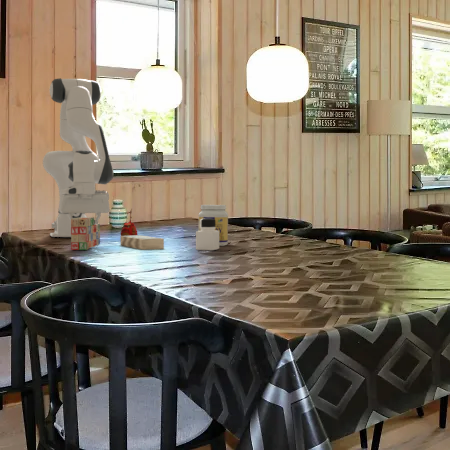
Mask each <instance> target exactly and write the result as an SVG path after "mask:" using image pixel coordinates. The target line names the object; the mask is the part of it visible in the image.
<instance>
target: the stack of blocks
mask: <svg viewBox="0 0 450 450" xmlns="http://www.w3.org/2000/svg"><path fill="white" fill-rule="evenodd" d="M94 220H95V217H93V216H92V217H91V216H90V217H88V216H87V217H79V218H74V219H71V237H70V238H71V239H70V240H71V242H70V245H71V246H70V249H71V251H79V250H80V251H87V250H90V249H91V248H94V247H96V246H98V245H100V244H101V228H100V227H101V226H100V223H98V224H94Z"/></svg>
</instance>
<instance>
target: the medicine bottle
mask: <svg viewBox="0 0 450 450" xmlns="http://www.w3.org/2000/svg"><path fill="white" fill-rule="evenodd" d="M200 229H201V231H199V230H196V231H195V250H196V251H215V250H219V249H220V246H219V231H217V230H215V219H212V218H204V219H201V220H200Z"/></svg>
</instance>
